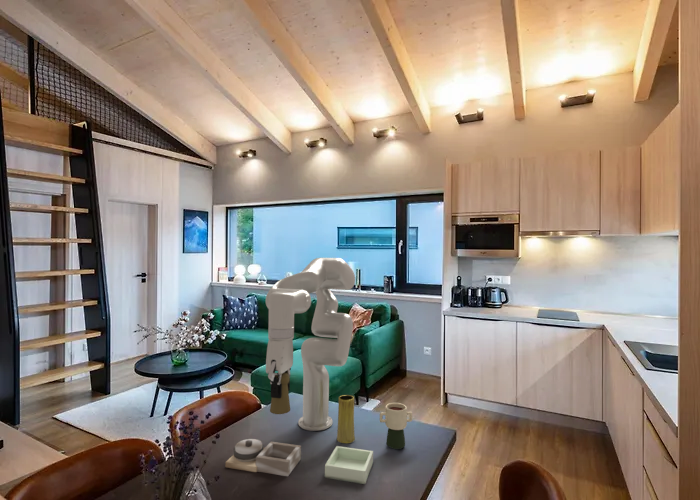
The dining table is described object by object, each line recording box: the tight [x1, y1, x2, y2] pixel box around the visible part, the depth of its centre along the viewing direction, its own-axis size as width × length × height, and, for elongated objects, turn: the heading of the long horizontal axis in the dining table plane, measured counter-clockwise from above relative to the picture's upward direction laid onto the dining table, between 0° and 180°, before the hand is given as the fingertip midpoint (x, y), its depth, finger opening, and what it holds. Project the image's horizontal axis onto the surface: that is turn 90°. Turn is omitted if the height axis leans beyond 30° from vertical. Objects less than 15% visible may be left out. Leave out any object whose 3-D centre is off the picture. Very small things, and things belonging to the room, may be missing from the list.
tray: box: [324, 445, 374, 485], centre depth 115 cm, size 12×12×4 cm
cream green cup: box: [379, 402, 413, 450], centre depth 130 cm, size 11×7×13 cm, turn 95°
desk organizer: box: [225, 438, 302, 477], centre depth 119 cm, size 11×20×6 cm, turn 76°
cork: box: [269, 373, 291, 415], centre depth 118 cm, size 6×6×11 cm
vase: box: [336, 394, 356, 445], centre depth 134 cm, size 6×6×14 cm
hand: (280, 393), depth 118 cm, fingers closed on cork, 5 cm apart
